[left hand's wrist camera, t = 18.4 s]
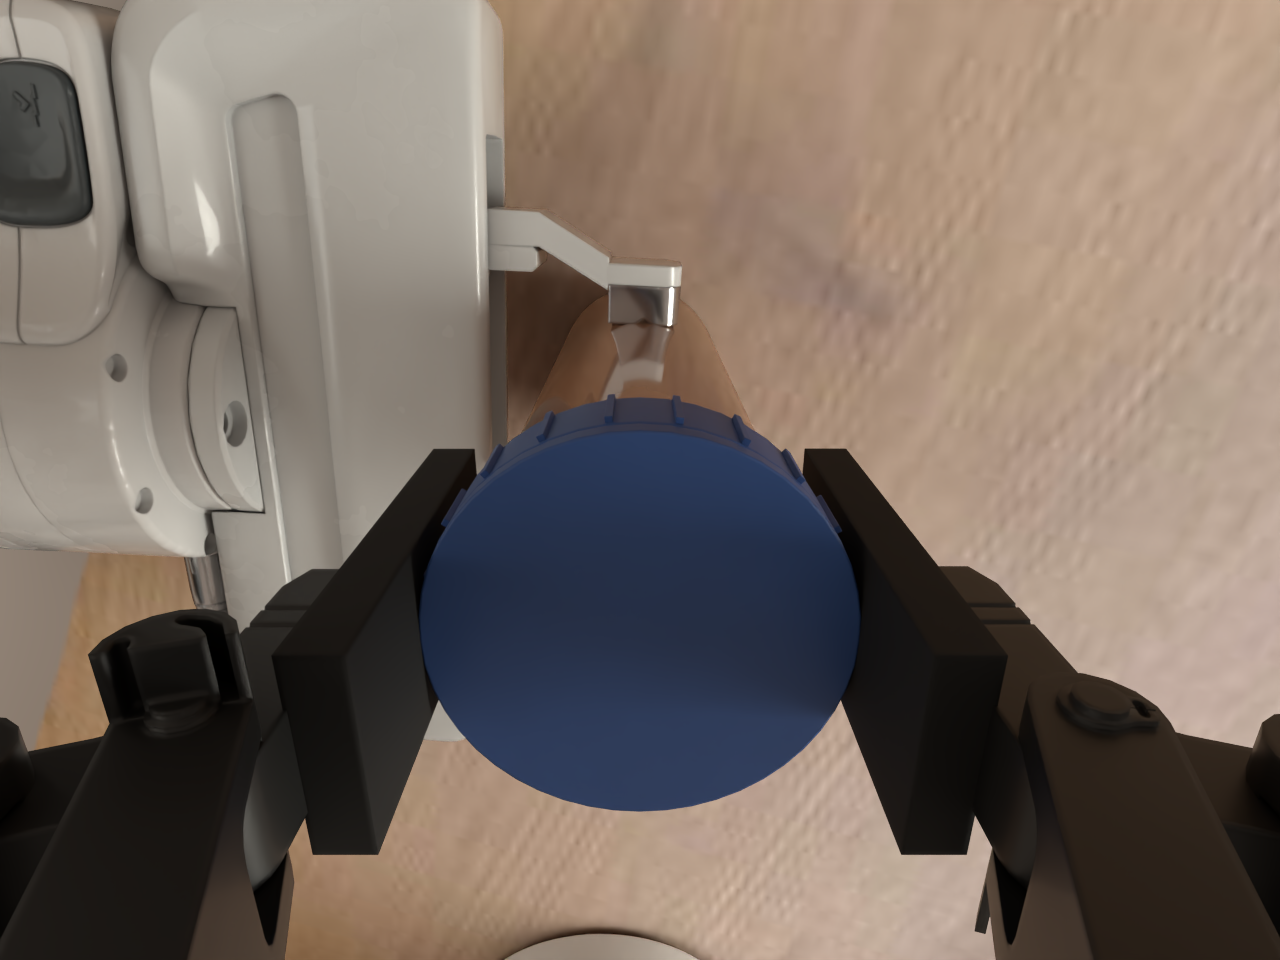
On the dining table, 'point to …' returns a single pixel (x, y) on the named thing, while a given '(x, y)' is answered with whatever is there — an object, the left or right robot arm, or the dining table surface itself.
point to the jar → (637, 365)
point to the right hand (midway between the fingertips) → (671, 415)
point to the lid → (639, 607)
